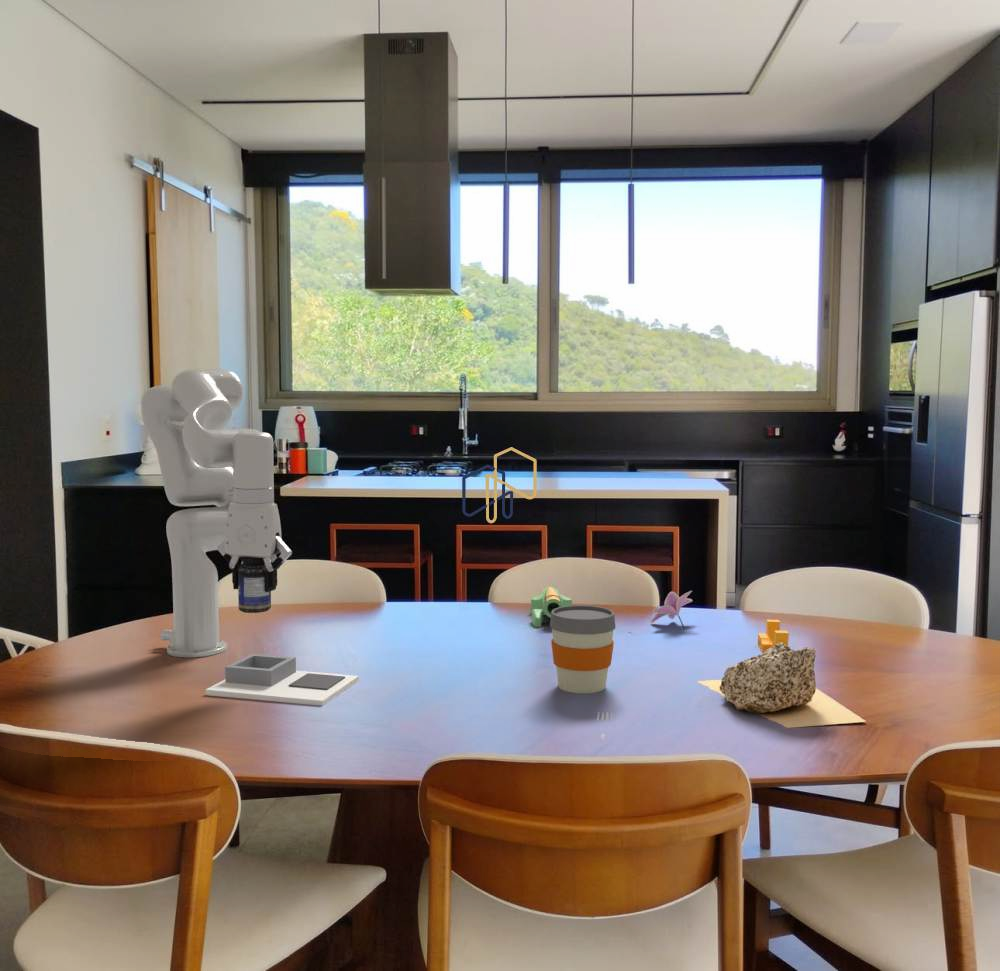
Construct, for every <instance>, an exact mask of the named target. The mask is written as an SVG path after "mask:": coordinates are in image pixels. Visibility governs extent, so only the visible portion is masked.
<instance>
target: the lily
mask: <svg viewBox="0 0 1000 971" xmlns="http://www.w3.org/2000/svg"><path fill="white" fill-rule="evenodd" d="M692 592H693V590H689V591H688V592H685V593H684V594H682V595H681V596H679V595H678V593H676V592H675V591H670V592H669V593H668V594H667V596H666V598H665V600H664V602H663V603H664V604H663V605H662V606H660V607H657V608H656V609H654V610H653V611H652V613H655V615H654V616H653V618H652V619H651V621H650V624H652V623H654V622H656V621H657V620H659V619H660V618H663V617H665V616H667V617H668V618H669V619H671V620H674V619H675V617H676V616H677V617H678V619H679V621H680V623H681V626H682V628H683V629H686V628H685V626H684V624H683V621H682V619H681V617H680V615H679V614H680V610H681V608H682V607H683V606H685V605H687V604H690V603H692V602H693V599H692V598H688V596H689V595H690V594H691V593H692Z"/></svg>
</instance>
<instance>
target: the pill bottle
mask: <svg viewBox="0 0 1000 971" xmlns="http://www.w3.org/2000/svg"><path fill="white" fill-rule="evenodd" d="M242 562H243V563H242V566H241V567H240V568H239V569H238V589H237V591H238V592H237V593H238V610H239V611H240V612H242V613H244V614H258V613H264V612H267V611H269V610H271V608H272V591H270V592H266V591H265V572H266V571H267V567H266V565H265V562H264V559H263V558H256V557H243V556H242Z"/></svg>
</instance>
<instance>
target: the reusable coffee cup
mask: <svg viewBox="0 0 1000 971" xmlns="http://www.w3.org/2000/svg"><path fill="white" fill-rule="evenodd" d="M615 619H616V618H615V612H614V611H613V610H612V609H609V608H608V607H607V608H606V607H602V606H597V605H596V606H595V605H581V604H580V605H577V604H576V605H572V606H564V607H559V608H555V609H553V610H552V611H551V618H550V621H549V627H550V628H551V633H552V638H551V640H550V644H551V650H552V659H553V661H552V662H553V664H554V666H555V668H556V675H557V682H558V683H557V684H558V688H559V689H560V690H563V691H564V692H568V693H572V694H573V693H575V694H594V693H599V692H601V691H604V690H605V689H606V687H607V686H606V685H607V678H608V671H609V667H610V666H611V664H612V659H613V653H614V652H613V651H614V645H615V643H614V642H615V641H614V640H613V636H614V631H615V630H616V620H615Z"/></svg>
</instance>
